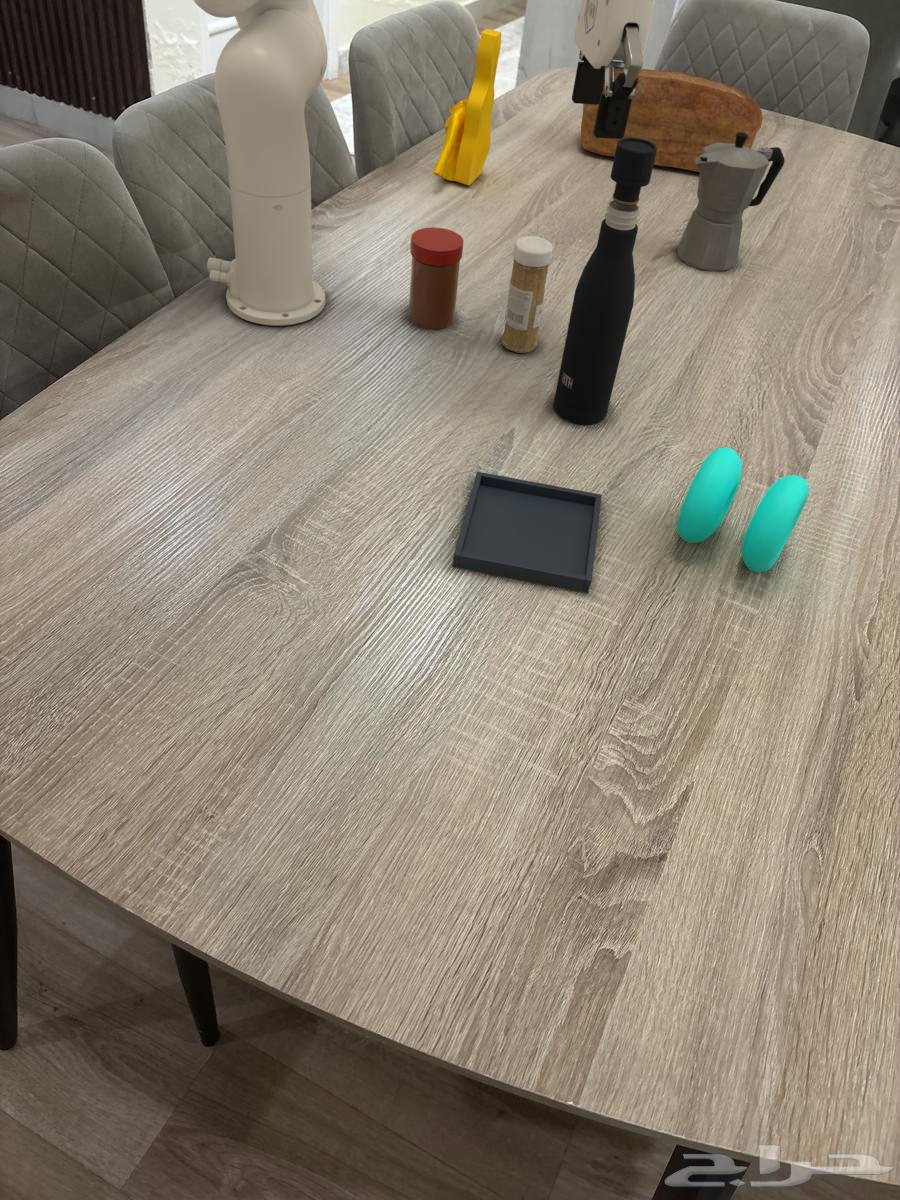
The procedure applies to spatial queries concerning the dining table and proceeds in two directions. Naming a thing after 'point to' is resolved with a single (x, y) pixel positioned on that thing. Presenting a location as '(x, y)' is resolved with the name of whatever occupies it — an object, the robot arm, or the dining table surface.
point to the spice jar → (526, 293)
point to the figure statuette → (472, 119)
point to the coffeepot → (726, 201)
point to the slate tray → (529, 532)
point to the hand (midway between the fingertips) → (596, 119)
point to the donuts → (715, 498)
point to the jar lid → (436, 246)
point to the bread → (679, 117)
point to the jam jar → (433, 294)
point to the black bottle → (604, 295)
